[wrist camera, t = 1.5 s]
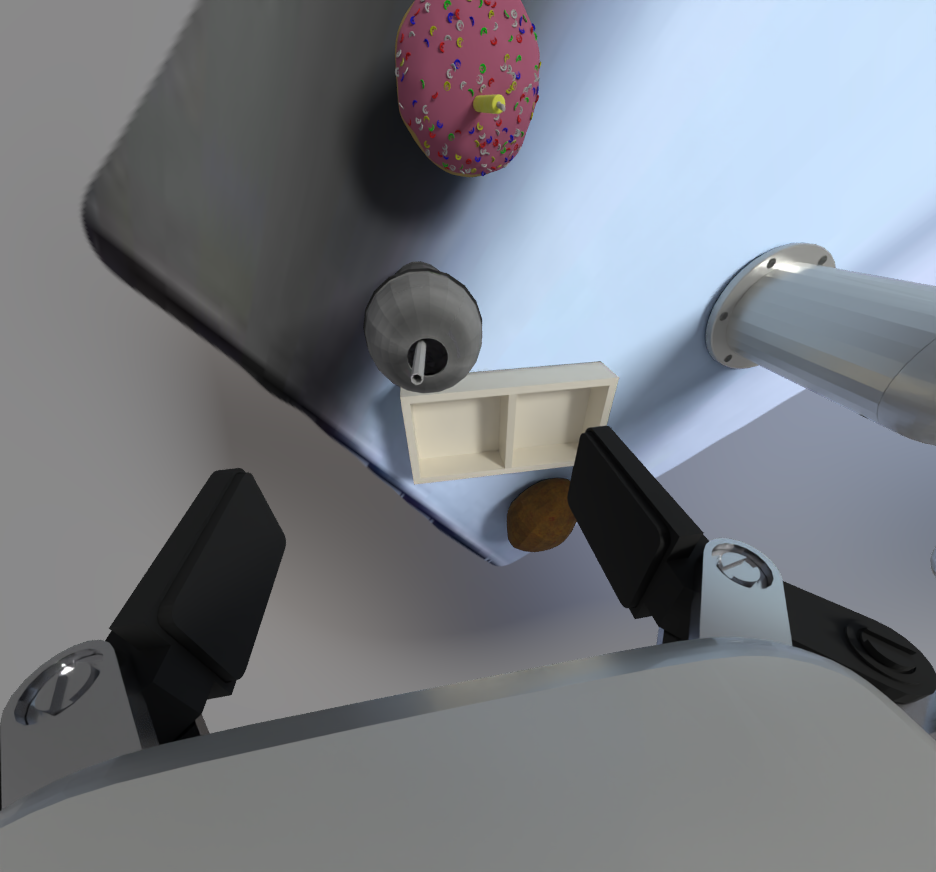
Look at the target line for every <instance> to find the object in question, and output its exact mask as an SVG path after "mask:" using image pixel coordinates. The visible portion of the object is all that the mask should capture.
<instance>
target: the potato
mask: <svg viewBox="0 0 936 872" xmlns="http://www.w3.org/2000/svg"><path fill="white" fill-rule="evenodd" d="M569 486H570V480H568V479H563V478H553V479H547V480H543V481H541V482H538V483H536V484H535V485H533V486H531V487H529V488H528V489H526V490H525V491H524V492H522V493H521V494H520V495H519V496H518V497H517V498H516V499H515V500H514V501H513V502H512V503H511V505H510V507H509V510H508V513H507V532H508V539H509V541H510V543H511V545H512V546H513V547H514V548H517V549H519V550H522V551H528V552H539V551H544V550H548V549H551V548H554V547H556V546H558V545H559V544H561V543H562V542H564V540H565V539H566V538H567V537H568V536H569V534H570V533H571V532H572V530H573V528H574V526H575V524H576V522H577V520H576V519H575V517H574V515H573V513H572V511H571V509H570V507H569V505H568V500H567V495H568V490H569Z"/></svg>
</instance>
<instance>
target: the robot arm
mask: <svg viewBox="0 0 936 872" xmlns="http://www.w3.org/2000/svg"><path fill="white" fill-rule="evenodd" d="M705 339H706V345H707V349H708V351H709V353H710V355H711V356H712V357H713V358H714V360H716V361H717V362H719V363H721V364H722V365H724V366H727V367H730V368H736V369H744V368H751V367H754V366H758V365H760V366H762V367H764V368H766V369H768V370H770V371H772V372H774V373H776V374H778V375H780V376H782V377H784V378H786V379H788V380H790V381H792V382H794V383H796V384H798V385H800V386H802V387H804V388H806V389H808V390H810V391H812V392H814V393H816V394H818V395H821V396H822V397H824V398H827V399H829V400H831V401H833V402H835V403H837V404H839V405H841V406H843V407H845V408H847V409H849V410H851V411H853V412H855V413H857V414H859V415H861V416H863V417H865V418H867V419H869V420H871V421H873V422H875V423H877V424H879V425H881V426H883V427H886V428H888V429H890V430H892V431H894V432H896V433H898V434H900V435H902V436H905V437H907V438H909V439H912V440H916V441H919V442H922V443H925V444H931V445H935V446H936V286H932V285H927V284H921V283H915V282H910V281H904V280H899V279H893V278H887V277H882V276H876V275H871V274H865V273H859V272H854V271H848V270H843V269H837V268H836V267H835V261H834V259H833V257H832V255H831V253H829V252H828V251H827V250H826V249H825V248H824V247H821V246H819V245H816V244H810V243H790V244H786V245H782V246H779V247H777V248H774V249H772V250H770V251H768V252H766V253H764V254H763V255H761V256H760V257H758V258H756V259H755V260H753V261H752V262H751V263H750V264H748V265H747V266H746V267H745V268H744V269H742V270H741V271H740V272H739V273H738V274H737V275H736V276H735V277H734V278H733V280H732V281H731V282H730V283H729V284H728V286H727V287H726V288H725V289H724V291H723V292H722V293H721V295H720V297H719V298H718V300H717V302H716V303H715V305H714V307H713V310H712V312H711V314H710V317H709V320H708V324H707V328H706V338H705ZM567 500H568V505H569V507H570V509H571V511H572V513H573V515H574V517H575V519H576V520H577V522H578V524H579V526H580V528H581V530H582V532H583V533H584V535H585V537H586V539H587V541H588V543H589V545H590V547H591V549H592V550H593V552H594V554H595V556H596V558H597V560H598V562H599V564H600V565H601V567H602V569H603V571H604V573H605V575H606V577H607V579H608V580H609V582H610V584H611V586H612V588H613V590H614V592H615V593H616V595H617V597H618V599H619V601H620V603H621V604H622V605H623V606H624V607H625V608H629V609H630V611H631V613H632V615H633V617H634V618H635V619H638V618H643V617H649V616H653V618H654V620H655V621H656V623H657V625H658V626H659V630H658V637H657V644H656V645H654V646H648V647H642V648H637V649H631V650H625V651H620V652H614V653H609V654H603V655H599V656H593V657H588V658H583V659H578V660H572V661H567V662H562V663H558V664H552V665H547V666H541V667H536V668H532V669H526V670H521V671H516V672H510V673H505V674H501V675H495V676H490V677H486V678H480V679H475V680H470V681H465V682H460V683H455V684H450V685H445V686H440V687H435V688H430V689H425V690H420V691H415V692H409V693H405V694H400V695H394V696H390V697H385V698H379V699H374V700H370V701H364V702H360V703H355V704H350V705H345V706H340V707H335V708H330V709H325V710H320V711H316V712H310V713H306V714H301V715H296V716H291V717H286V718H281V719H276V720H271V721H266V722H261V723H256V724H252V725H247V726H243V727H238V728H234V729H229V730H225V731H220V732H215V733H211V734H210V733H209V731H208V728H207V726H206V724H205V721H204V719H203V716H202V711H203V709H204V706H205V704H206V701H207V699H212V698H218V697H223V696H228V695H232V692H233V689H234V686H235V683H236V680H238V679H240V678H241V677H242V676H243V674H244V672H245V670H246V667H247V665H248V661H249V658H250V655H251V652H252V649H253V646H254V642H255V640H256V636H257V634H258V630H259V627H260V624H261V621H262V618H263V615H264V612H265V609H266V606H267V603H268V600H269V596H270V593H271V590H272V587H273V584H274V581H275V578H276V575H277V571H278V568H279V565H280V562H281V559H282V556H283V553H284V550H285V546H286V539H285V535H284V533H283V532H282V529H281V527H280V526H279V524H278V522H277V520H276V518H275V517H274V514H273V513H272V511H271V509H270V507H269V505H268V504H267V501H266V500H265V498H264V496H263V494H262V492H261V490H260V488H259V487H258V485H257V483H256V481H255V479H254V477H253V476H252V474H251V473H245V471H244V470H243V469H241V468H236V469H227V470H218V471H215V472H214V473H213V474H212V475H211V476H210V478H209V479H208V481H207V482H206V484H205V485H204V487H203V488H202V490H201V491H200V493H199V494H198V496H197V497H196V499H195V500H194V502H193V503H192V505H191V506H190V508H189V509H188V511H187V512H186V514H185V515H184V517H183V518H182V520H181V521H180V523H179V524H178V526H177V527H176V529H175V530H174V532H173V533H172V535H171V536H170V538H169V539H168V541H167V542H166V544H165V545H164V547H163V548H162V550H161V551H160V553H159V554H158V556H157V557H156V559H155V560H154V562H153V563H152V565H151V566H150V568H149V569H148V571H147V572H146V574H145V575H144V577H143V578H142V580H141V581H140V583H139V584H138V586H137V587H136V589H135V590H134V592H133V593H132V595H131V596H130V598H129V599H128V601H127V602H126V604H125V605H124V607H123V608H122V610H121V611H120V613H119V614H118V616H117V617H116V619H115V620H114V622H113V623H112V625H111V626H110V628H109V629H111V630H112V631H111V633H110V634H109V636H108V637H107V639H106V640H105V641H103V640H92V641H86V642H83V643H80V644H78V645H74V646H73V647H70V648H68V649H66V650H64V651H63V652H61V653H59V654H57V655H56V656H54V657H53V658H51V659H50V660H48V661H47V662H45V663H44V664H43V665H41V666H40V667H39V668H38V669H37V670H35V671H34V672H33V673H32V674H31V675H30V676H29V677H28V678H27V679H25V680H24V682H23V683H22V684H21V685H20V686H19V688H18V689H17V690H16V691H15V692H14V694H13V695H12V696H11V698H10V699H9V701H8V703H7V705H6V707H5V708H4V710H3V713H2V718H1V723H0V872H936V673H935V671H934V669H933V667H932V665H931V664H930V662H929V661H928V660H927V659H926V657H924V655H923V654H922V653H921V652H920V651H919V650H918V649H917V648H916V647H915V646H914V645H913V644H912V643H910V642H909V641H908V640H907V639H906V638H904V637H903V636H901V635H900V634H898V633H897V632H895V631H894V630H893V629H891V628H889V627H887V626H885V625H883V624H881V623H879V622H877V621H875V620H873V619H871V618H868V617H866V616H864V615H861V614H859V613H857V612H854V611H852V610H850V609H847V608H845V607H843V606H840V605H838V604H835V603H833V602H831V601H828V600H826V599H824V598H821V597H819V596H816V595H814V594H812V593H809V592H807V591H805V590H803V589H800V588H797V587H796V586H793V585H791V584H789V583H786V582H784V581H783V580H782V577H781V575H780V572H779V570H778V569H777V568H776V566H775V565H774V564H773V562H772V561H771V560H770V559H769V558H767V557H766V556H765V555H764V554H763V553H762V552H760V551H758V550H757V549H755V548H754V547H752V546H750V545H748V544H746V543H743V542H741V541H738V540H734V539H730V538H717V539H713V540H711V541H709V540H708V539H707V538H706V537H705V536H704V535H703V532H702V531H701V530H700V528H699V527H698V526H697V525H696V524H695V523H694V522H693V520H692V519H691V518H690V517H689V516H688V515H687V514H686V513H685V512H684V510H683V509H682V508H681V507H680V506H679V505H678V504H677V502H676V501H675V500H674V499H673V498H672V497H671V496H670V495H669V493H668V492H667V491H666V490H665V489H664V488H663V487H662V485H661V484H660V483H659V482H658V481H657V480H656V479H655V478H654V476H653V475H652V474H651V473H650V472H649V471H648V470H647V469H646V467H645V466H644V465H643V464H642V463H641V462H640V461H639V460H638V458H637V457H636V456H635V455H634V454H633V453H632V452H631V450H630V449H629V448H628V447H627V446H626V445H625V444H624V443H623V441H622V440H621V439H620V438H619V437H618V436H617V435H616V434H615V432H614V431H613V430H612V429H611V428H610V427H609V426H598V427H589V428H587V429H586V431H585V433H582V434H581V435H580V439H579V443H578V448H577V453H576V458H575V462H574V467H573V472H572V476H571V481H570V486H569V490H568V495H567ZM930 562H931V569H932V572H933V574H934V576H935V578H936V547H935V549H934V550H933V552H932V555H931V559H930Z"/></svg>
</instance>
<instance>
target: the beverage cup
mask: <svg viewBox="0 0 936 872" xmlns="http://www.w3.org/2000/svg"><path fill="white" fill-rule="evenodd" d="M363 328H364V333H365V338H366V343H367V347H368V349H369V353H370V355H371V357H372V359H373V360H374V362H375V364H376V366H377V367H378V369H379V371H381V372H382V373H383V374H384V375H385V376H386V377H387V378H388V379H389V380H390V381H391V382H392V383H393V384H395V385H397V386H399V387H401V388H403V389H405V390H407V391H412V392H418V393H434V392H440V391H443V390H445V389H448V388H451V387H453V386H455V385H456V384H457V383H458V382H460V381H461V380H462V379H464V378H465V377H466V376H467V374H468V373H469V371H470V370H471V369H472V367H473V366H474V364H475V363H476V361H477V358H478V355H479V351H480V348H481V344H482V318H481V314H480V311H479V308H478V305H477V302H476V300H475V299H474V298H473V296H472V295H471V294H470V292H469V291H468V289H467V288H466V287H465V285H463V284H462V283H460V282H459V281H458V280H456V279H455V278H453V277H452V276H450V275H449V274H447V273H443V272H440V271H439V270H438V269H436V268H435V267H433V266H432V265H430V264H427V263H424V262H411V263H409V264H407V265H405V266H403V267H402V268H401V269H400V270H399V271H398V272H397V273H396V274H395V275H393V276H391V277H389V278H388V279H387V280H386V281H385V282H383V283H382V284H381V285H380V286H379V287H378V288H377V289H376V290H375V291H374V293H373V295H372V297H371V299H370V301H369V303H368V305H367V307H366V310H365V318H364V327H363Z"/></svg>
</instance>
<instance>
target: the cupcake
mask: <svg viewBox="0 0 936 872" xmlns="http://www.w3.org/2000/svg"><path fill="white" fill-rule="evenodd" d="M533 28H534V29H533ZM534 31H535V26H534V24H532V23H531V22H530V20H529V17H528V15H527V13H526V10H525V8H524V6H523V4H522V2H521V0H415V1H414V2H413V4H412V5H411V6H410V8H409V9H408V11H407V12H406V14H405V16H404V18H403V19H402V22H401V24H400V26H399V29H398V33H397V37H396V45H395V61H396V69H395V75H396V79H397V93H398V104H399V111H400V115H401V117H402V120H403V122H404V123H405V125H406V127H407V128H408V130H409V132H410V133H411V135H412V137H413V138H414V140H415V142H416V143H417V144H418V146H419V147H420V148H421V150H422V151H423V152H424V154H425V155H426V156H427V157H428V158H429V159H430V160H431V161H432V162H433V163H434V164H435V165H437V166H438V167H439V168H441V169H442V170H444V171H446V172H448V173H450V174H453V175H457V176H464V177H477V176H484V175H486V174H488V173H490V172H494V171H497V170H500V169H502V168H505V167H506V166H507V165H508V163H509V162H510V161H511V160H512V159H513V158H514V157H515V156H516V154H517V153H518V152H519V150H520V149H521V146H522V144H523V141H524V138H525V135H526V132H527V129H528V126H529V123H530V121H531V119H532V116H533V112H534V109H535V105H536V102H537V101H538V98H539V95H538V89H539V87H538V86H539V68H540V65H541V62H540V63H539V57H540V56H539V48H538V44H537V35H536V33H535V32H534Z"/></svg>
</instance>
